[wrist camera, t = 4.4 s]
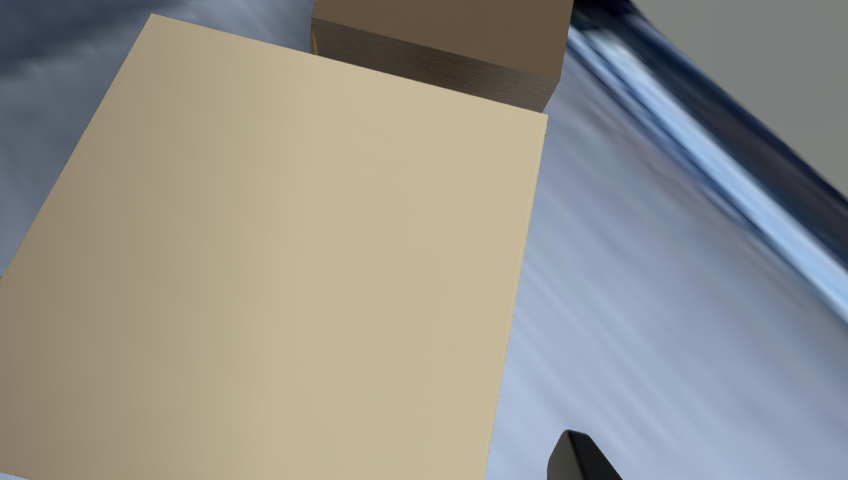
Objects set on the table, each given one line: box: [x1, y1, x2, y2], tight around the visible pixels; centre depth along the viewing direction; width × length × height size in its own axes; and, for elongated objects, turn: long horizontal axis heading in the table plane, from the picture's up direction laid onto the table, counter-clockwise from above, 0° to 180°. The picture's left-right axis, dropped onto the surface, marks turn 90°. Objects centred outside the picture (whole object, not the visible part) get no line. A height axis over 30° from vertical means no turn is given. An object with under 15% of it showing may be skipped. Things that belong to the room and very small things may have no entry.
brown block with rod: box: [311, 0, 573, 113], centre depth 16 cm, size 22×8×7 cm, turn 166°
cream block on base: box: [0, 13, 548, 480], centre depth 11 cm, size 6×8×15 cm
